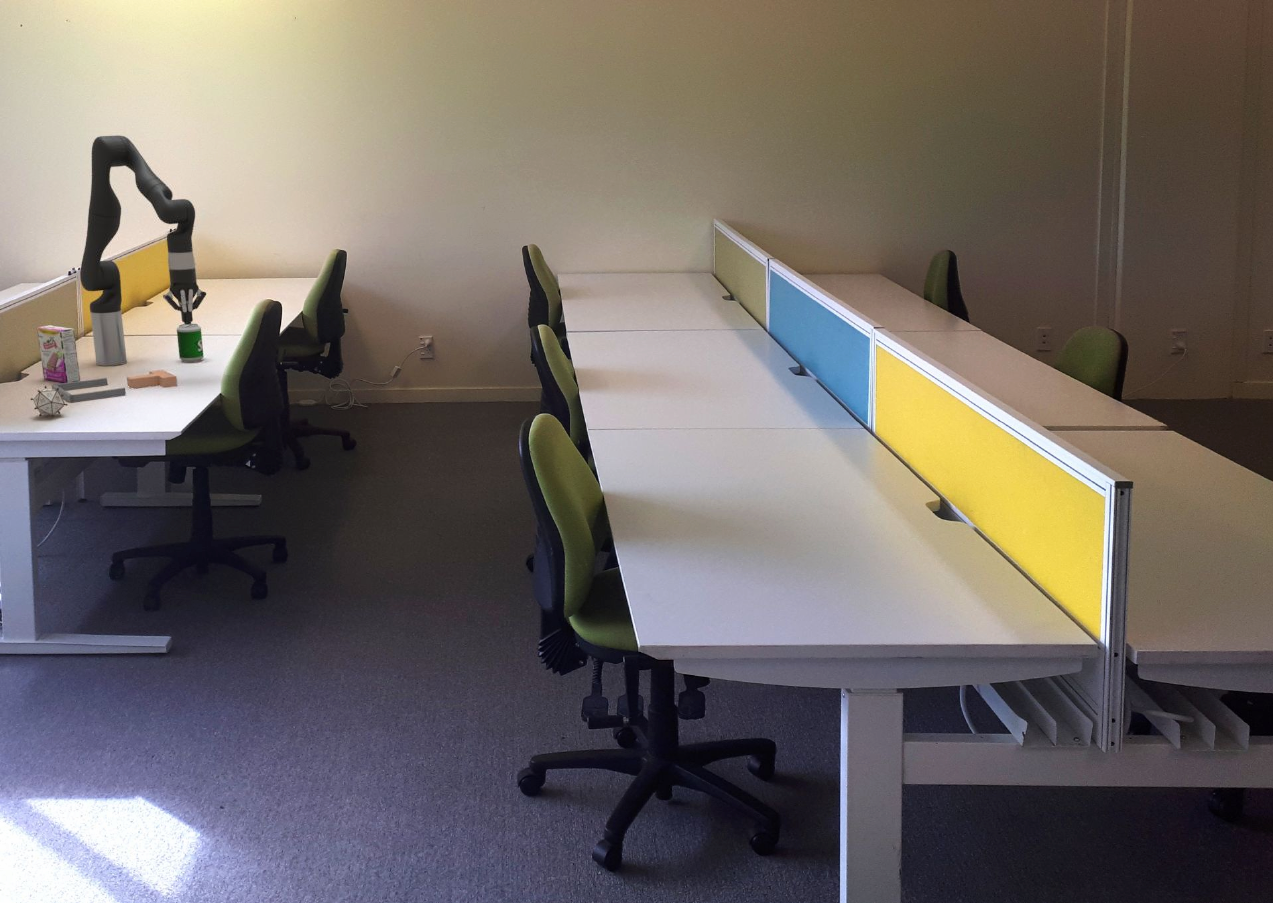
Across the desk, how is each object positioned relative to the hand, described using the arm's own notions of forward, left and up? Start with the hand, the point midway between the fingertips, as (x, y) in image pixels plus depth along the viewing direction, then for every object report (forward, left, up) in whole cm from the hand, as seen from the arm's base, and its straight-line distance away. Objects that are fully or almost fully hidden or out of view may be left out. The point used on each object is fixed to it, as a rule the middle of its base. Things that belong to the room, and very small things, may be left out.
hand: (187, 323), depth 371 cm
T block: (0, -13, -17) cm, 22 cm away
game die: (+22, -47, -18) cm, 55 cm away
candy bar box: (-23, -32, -18) cm, 43 cm away
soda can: (-28, +10, -18) cm, 35 cm away
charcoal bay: (0, -30, -17) cm, 35 cm away
